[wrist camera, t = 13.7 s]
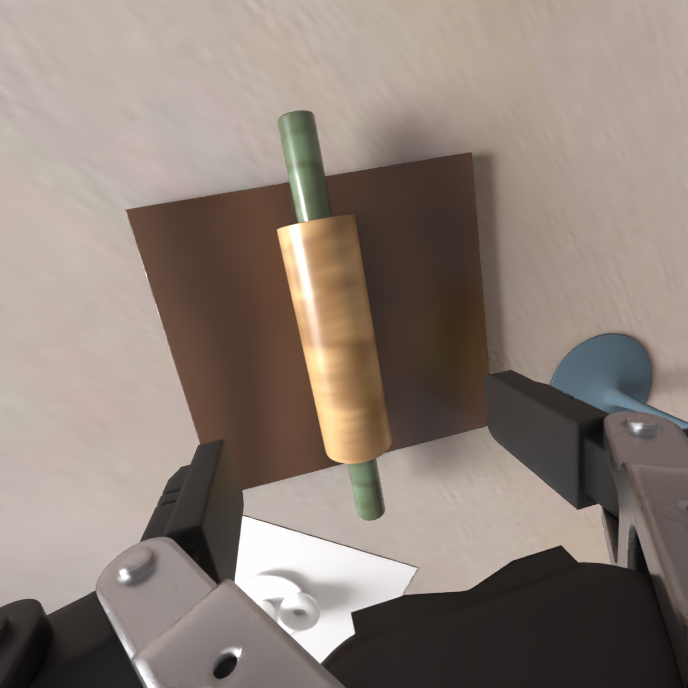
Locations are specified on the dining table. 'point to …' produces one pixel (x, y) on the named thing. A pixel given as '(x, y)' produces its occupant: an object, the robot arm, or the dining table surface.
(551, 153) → the dining table surface
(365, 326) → the rolling pin
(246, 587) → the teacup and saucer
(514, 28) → the dining table surface
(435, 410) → the pastry board
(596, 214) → the dining table surface
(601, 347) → the cocktail glass
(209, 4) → the dining table surface
